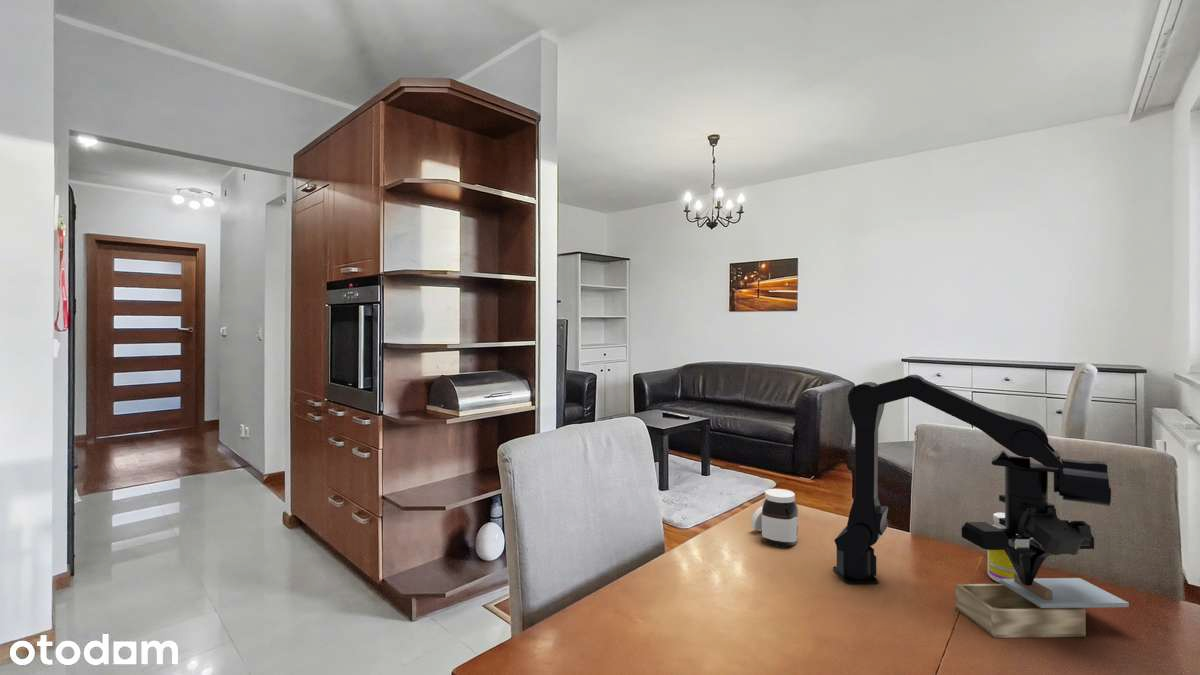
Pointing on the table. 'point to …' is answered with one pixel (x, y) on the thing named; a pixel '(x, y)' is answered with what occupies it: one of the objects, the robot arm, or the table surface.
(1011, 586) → the lid
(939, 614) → the table surface
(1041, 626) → the wooden box
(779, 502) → the spread jar
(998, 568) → the supplement bottle
